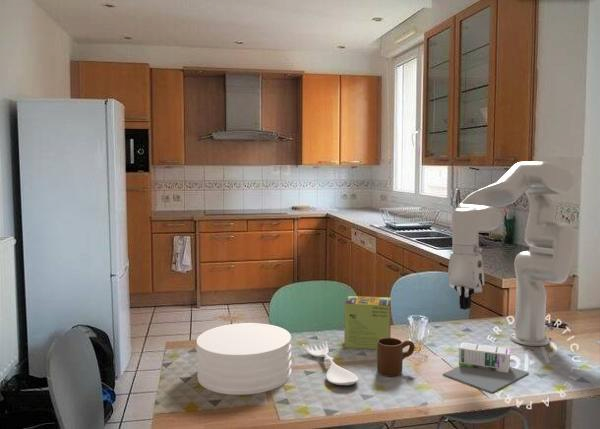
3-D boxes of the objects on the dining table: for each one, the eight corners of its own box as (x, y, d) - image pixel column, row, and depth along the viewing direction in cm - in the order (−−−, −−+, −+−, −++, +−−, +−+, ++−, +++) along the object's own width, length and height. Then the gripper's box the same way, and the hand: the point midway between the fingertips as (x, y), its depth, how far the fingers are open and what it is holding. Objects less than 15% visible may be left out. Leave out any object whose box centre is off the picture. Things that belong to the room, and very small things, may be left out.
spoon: (326, 349, 178) (326, 339, 177) (363, 388, 147) (364, 377, 147) (301, 352, 175) (301, 342, 175) (333, 393, 145) (333, 381, 144)
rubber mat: (480, 358, 168) (480, 357, 168) (528, 373, 156) (528, 372, 155) (442, 375, 155) (442, 373, 155) (492, 393, 143) (492, 392, 143)
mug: (408, 364, 164) (408, 334, 163) (420, 373, 157) (420, 343, 156) (372, 368, 161) (373, 338, 160) (383, 378, 153) (383, 347, 152)
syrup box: (458, 347, 161) (509, 354, 154) (461, 341, 166) (510, 348, 160) (458, 365, 161) (508, 373, 155) (461, 359, 166) (510, 366, 160)
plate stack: (297, 391, 146) (297, 351, 145) (195, 398, 142) (194, 358, 141) (285, 354, 174) (284, 320, 172) (199, 360, 169) (198, 325, 168)
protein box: (389, 350, 176) (390, 305, 174) (344, 347, 179) (344, 303, 177) (390, 339, 186) (391, 297, 184) (347, 337, 189) (347, 295, 187)
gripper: (494, 250, 154) (494, 310, 157) (451, 244, 166) (451, 300, 168) (480, 254, 150) (480, 316, 152) (437, 248, 161) (437, 305, 163)
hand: (465, 308), depth 160 cm, fingers closed
